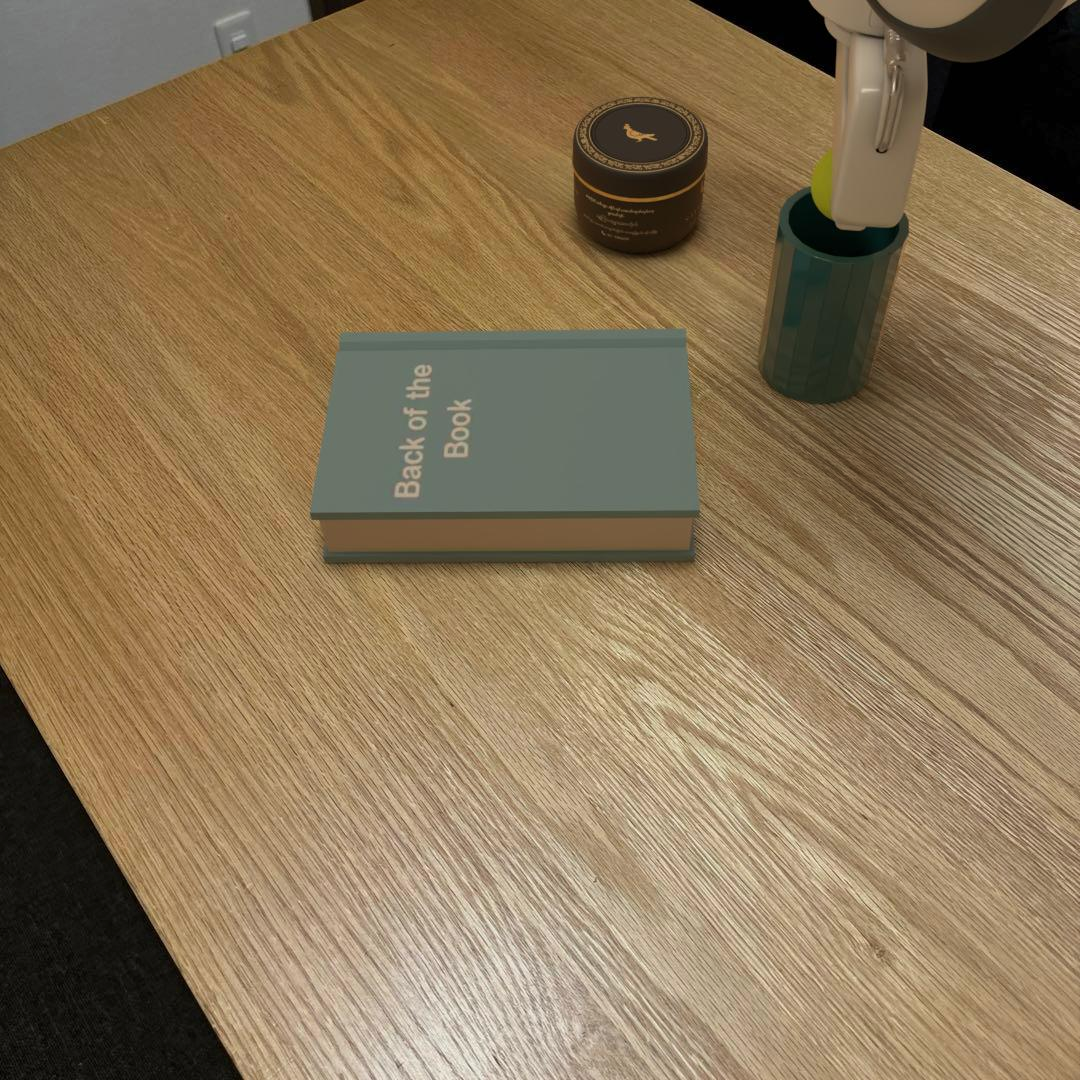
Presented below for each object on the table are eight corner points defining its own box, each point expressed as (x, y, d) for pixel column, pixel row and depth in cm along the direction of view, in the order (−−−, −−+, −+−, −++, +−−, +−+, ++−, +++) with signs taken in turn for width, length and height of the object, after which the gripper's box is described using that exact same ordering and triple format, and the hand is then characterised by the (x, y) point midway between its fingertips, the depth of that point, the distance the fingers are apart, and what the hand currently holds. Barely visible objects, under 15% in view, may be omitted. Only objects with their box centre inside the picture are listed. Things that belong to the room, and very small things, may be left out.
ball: (882, 194, 73) (897, 129, 70) (882, 242, 71) (898, 176, 67) (806, 189, 74) (818, 123, 70) (804, 236, 71) (815, 170, 68)
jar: (688, 269, 89) (695, 183, 82) (558, 250, 90) (556, 164, 84) (712, 188, 94) (720, 102, 88) (589, 171, 96) (589, 85, 90)
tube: (872, 329, 84) (908, 186, 75) (871, 409, 80) (910, 268, 70) (760, 319, 85) (782, 177, 76) (753, 397, 81) (775, 257, 71)
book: (324, 563, 73) (309, 512, 69) (353, 376, 83) (342, 322, 79) (694, 561, 72) (700, 510, 68) (680, 372, 82) (684, 318, 78)
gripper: (972, 80, 53) (907, 313, 64) (955, -128, 65) (903, 98, 77) (829, 71, 54) (789, 303, 65) (838, -133, 66) (803, 92, 77)
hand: (850, 191), depth 71 cm, fingers closed on ball, 4 cm apart
